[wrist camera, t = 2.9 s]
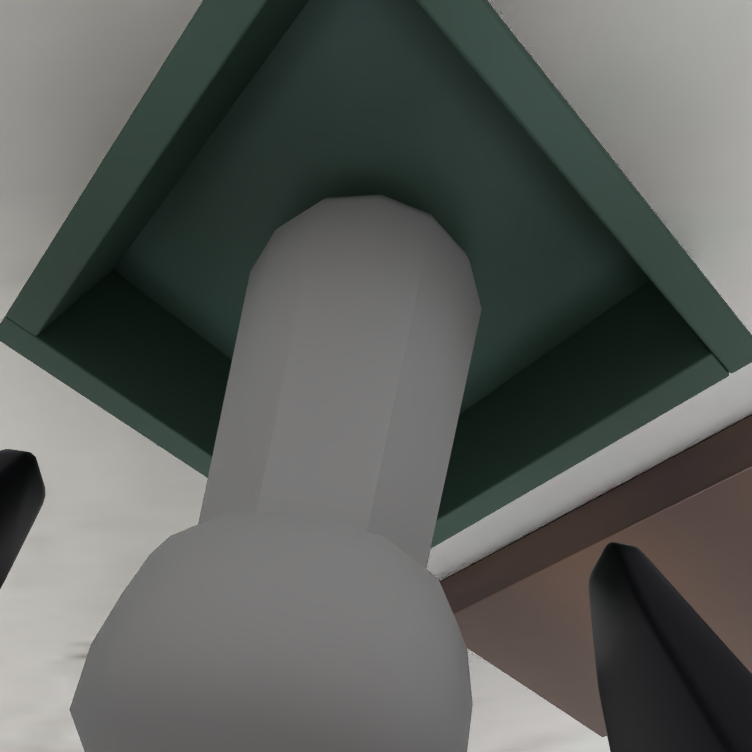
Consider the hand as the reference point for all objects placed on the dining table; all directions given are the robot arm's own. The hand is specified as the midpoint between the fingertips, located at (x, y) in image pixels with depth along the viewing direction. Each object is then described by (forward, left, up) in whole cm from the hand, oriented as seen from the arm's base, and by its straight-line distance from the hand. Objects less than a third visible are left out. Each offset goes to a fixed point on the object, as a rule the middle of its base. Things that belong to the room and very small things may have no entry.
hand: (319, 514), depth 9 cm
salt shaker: (0, 0, -9) cm, 9 cm away
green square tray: (0, 0, -9) cm, 9 cm away
